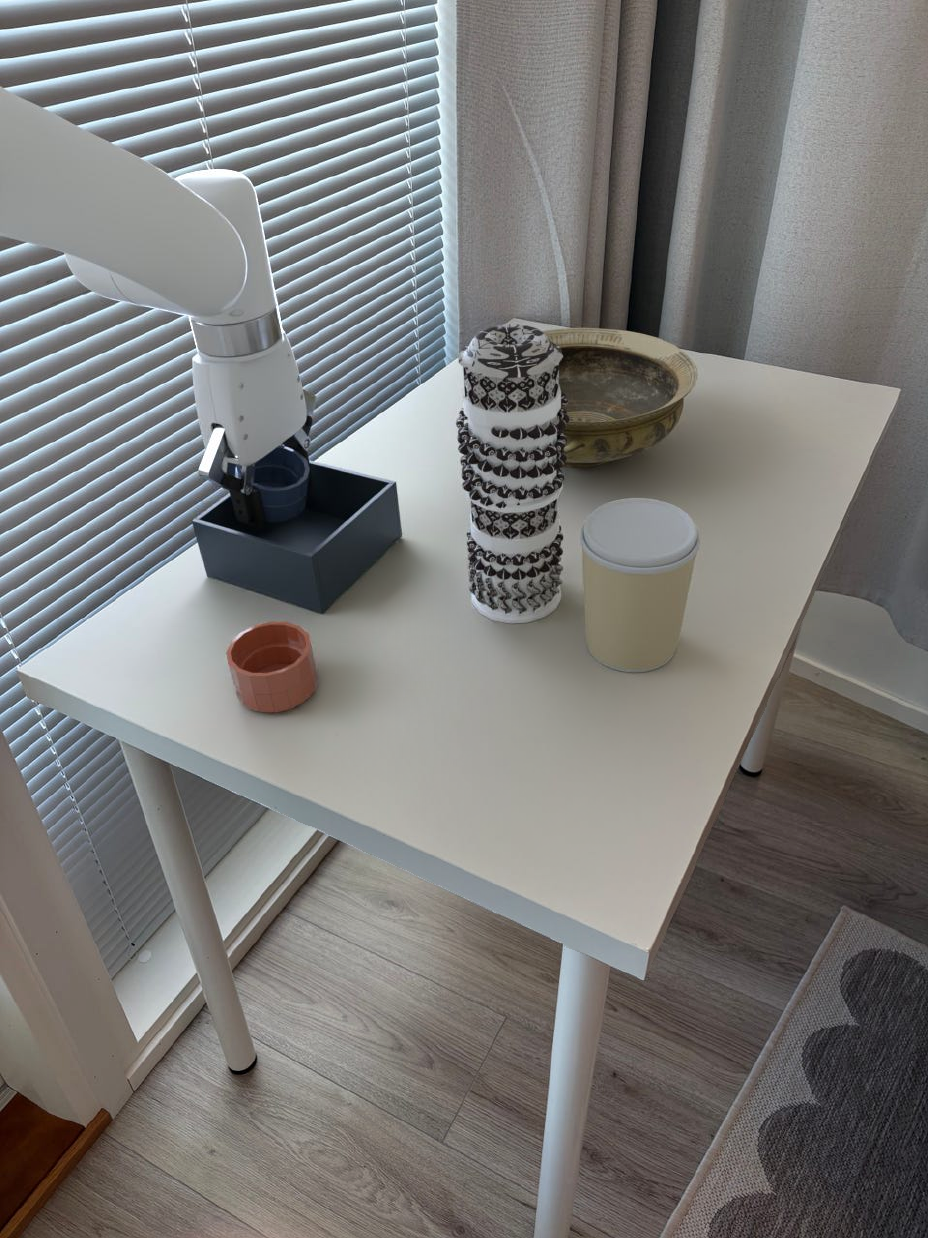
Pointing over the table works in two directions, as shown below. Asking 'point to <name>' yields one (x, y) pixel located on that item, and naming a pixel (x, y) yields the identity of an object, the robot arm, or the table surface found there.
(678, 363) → the ceramic bowl
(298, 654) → the terracotta flower pot
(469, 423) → the decorative candle
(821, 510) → the table surface
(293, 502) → the faceted blue pot
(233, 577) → the tub
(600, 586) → the coffee cup
